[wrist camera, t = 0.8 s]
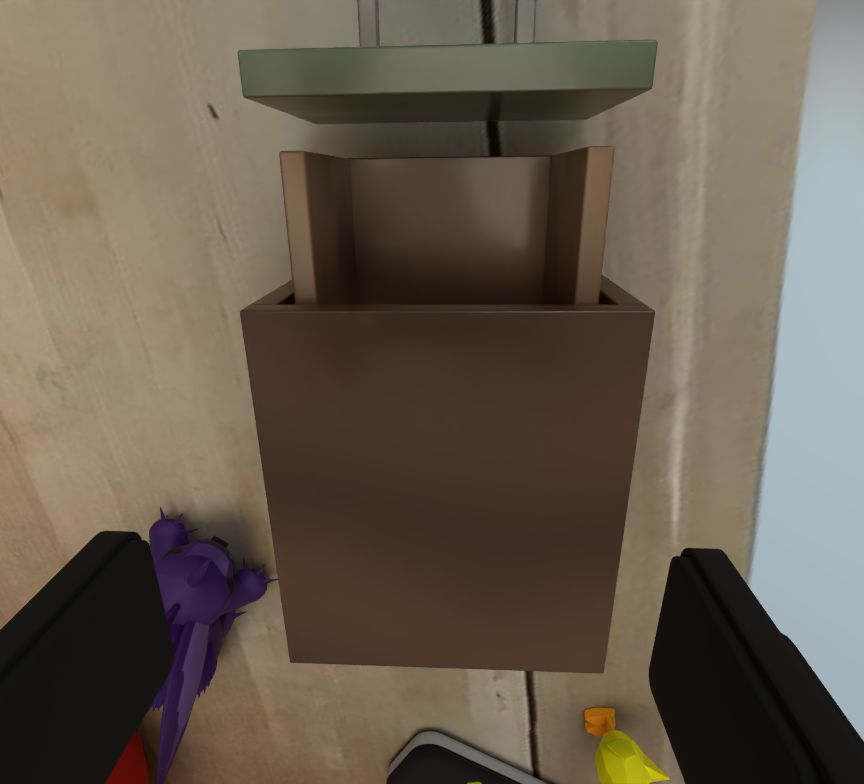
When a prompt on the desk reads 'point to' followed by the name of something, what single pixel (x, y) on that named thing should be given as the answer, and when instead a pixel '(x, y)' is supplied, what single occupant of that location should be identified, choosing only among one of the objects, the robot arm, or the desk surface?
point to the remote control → (450, 764)
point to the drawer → (448, 168)
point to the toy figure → (619, 752)
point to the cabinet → (448, 476)
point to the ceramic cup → (131, 765)
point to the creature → (194, 619)
